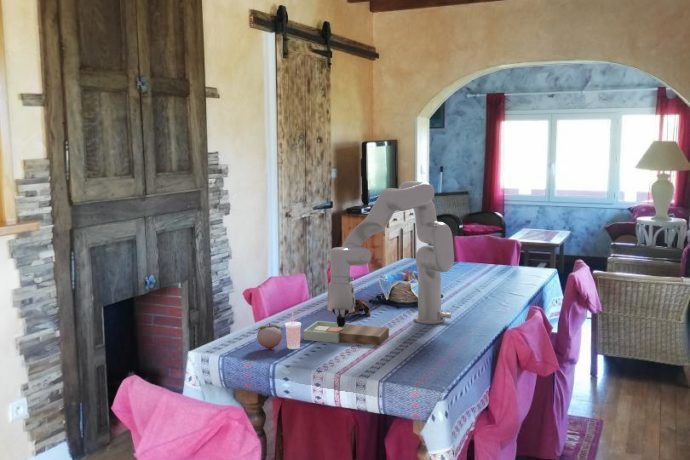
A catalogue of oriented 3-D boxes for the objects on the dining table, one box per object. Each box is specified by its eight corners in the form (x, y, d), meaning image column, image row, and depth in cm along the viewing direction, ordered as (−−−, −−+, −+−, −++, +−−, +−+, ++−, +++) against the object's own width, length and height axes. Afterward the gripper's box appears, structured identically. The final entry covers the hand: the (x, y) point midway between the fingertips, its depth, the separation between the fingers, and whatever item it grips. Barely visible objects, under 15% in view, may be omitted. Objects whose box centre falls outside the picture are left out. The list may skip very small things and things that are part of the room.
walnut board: (388, 336, 263) (388, 327, 262) (379, 345, 252) (379, 336, 251) (349, 333, 268) (349, 324, 268) (339, 341, 257) (339, 332, 256)
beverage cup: (286, 344, 255) (285, 308, 253) (302, 344, 254) (301, 308, 252) (284, 349, 248) (283, 312, 247) (301, 349, 248) (300, 312, 246)
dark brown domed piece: (372, 319, 289) (363, 304, 287) (352, 328, 291) (343, 313, 289) (372, 305, 300) (363, 291, 298) (353, 314, 302) (344, 299, 300)
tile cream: (318, 325, 268) (318, 331, 269) (313, 329, 264) (313, 335, 264) (330, 326, 267) (330, 332, 267) (325, 330, 262) (325, 336, 262)
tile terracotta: (343, 334, 265) (343, 328, 265) (339, 337, 260) (339, 331, 260) (331, 333, 267) (331, 327, 266) (327, 336, 262) (327, 330, 262)
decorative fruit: (261, 354, 244) (260, 327, 242) (255, 348, 251) (254, 321, 250) (286, 350, 247) (285, 324, 246) (279, 344, 255) (278, 318, 253)
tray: (350, 332, 269) (350, 323, 269) (337, 342, 256) (337, 333, 255) (317, 329, 274) (317, 320, 274) (303, 339, 261) (303, 330, 260)
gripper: (362, 278, 261) (362, 325, 263) (325, 276, 266) (326, 322, 268) (355, 282, 254) (356, 330, 256) (318, 280, 259) (319, 327, 261)
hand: (341, 326), depth 262 cm, fingers closed
